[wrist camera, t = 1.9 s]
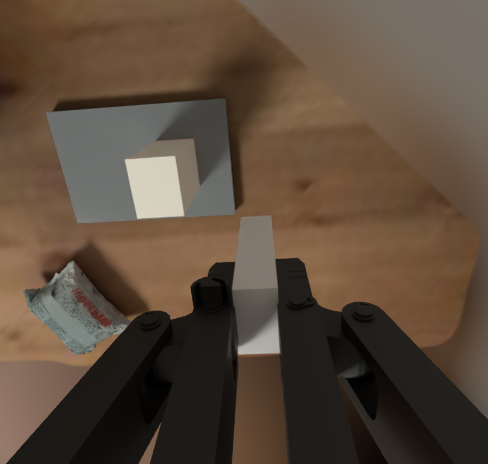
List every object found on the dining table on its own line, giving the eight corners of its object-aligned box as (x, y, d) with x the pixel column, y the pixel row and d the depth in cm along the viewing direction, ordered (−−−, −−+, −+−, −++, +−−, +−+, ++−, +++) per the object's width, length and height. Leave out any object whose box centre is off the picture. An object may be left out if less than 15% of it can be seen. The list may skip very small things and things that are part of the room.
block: (163, 187, 37) (137, 218, 29) (155, 140, 35) (124, 159, 27) (200, 185, 37) (184, 216, 29) (194, 137, 35) (175, 155, 27)
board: (82, 219, 40) (77, 223, 39) (52, 111, 35) (45, 112, 34) (235, 210, 39) (235, 214, 38) (225, 97, 34) (224, 98, 33)
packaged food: (82, 251, 42) (60, 272, 38) (142, 318, 46) (129, 345, 42) (33, 281, 44) (7, 305, 40) (95, 343, 48) (77, 371, 44)
